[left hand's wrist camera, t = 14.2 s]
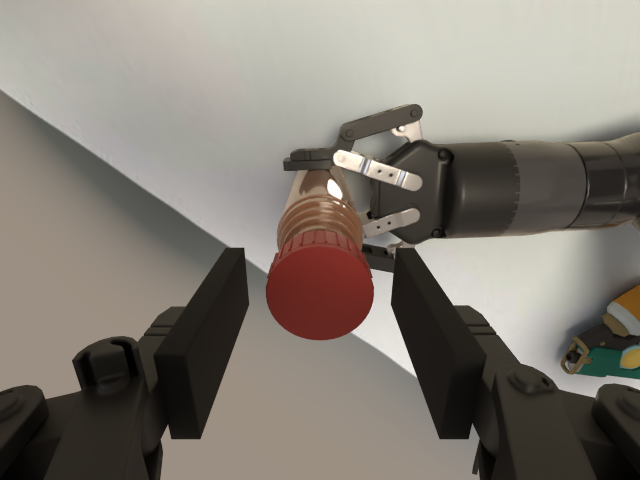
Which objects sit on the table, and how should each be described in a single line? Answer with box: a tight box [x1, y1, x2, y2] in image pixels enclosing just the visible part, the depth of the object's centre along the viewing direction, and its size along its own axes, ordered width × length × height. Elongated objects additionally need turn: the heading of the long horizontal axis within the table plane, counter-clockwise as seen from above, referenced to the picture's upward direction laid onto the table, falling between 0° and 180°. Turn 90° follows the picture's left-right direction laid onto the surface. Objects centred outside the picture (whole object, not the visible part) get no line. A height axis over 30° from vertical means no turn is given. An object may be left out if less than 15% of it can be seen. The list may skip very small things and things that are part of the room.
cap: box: [266, 230, 374, 340], centre depth 14 cm, size 4×4×2 cm
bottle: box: [277, 166, 363, 251], centre depth 24 cm, size 5×5×22 cm
